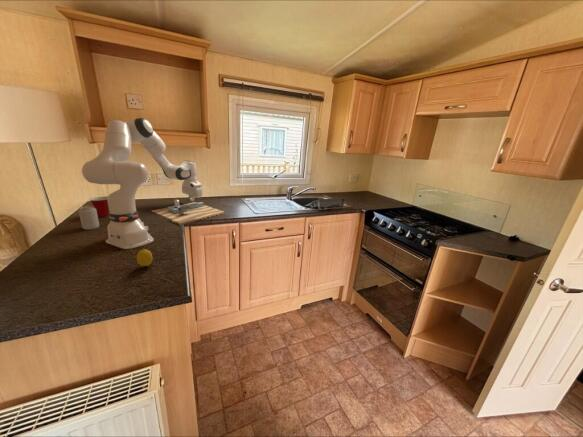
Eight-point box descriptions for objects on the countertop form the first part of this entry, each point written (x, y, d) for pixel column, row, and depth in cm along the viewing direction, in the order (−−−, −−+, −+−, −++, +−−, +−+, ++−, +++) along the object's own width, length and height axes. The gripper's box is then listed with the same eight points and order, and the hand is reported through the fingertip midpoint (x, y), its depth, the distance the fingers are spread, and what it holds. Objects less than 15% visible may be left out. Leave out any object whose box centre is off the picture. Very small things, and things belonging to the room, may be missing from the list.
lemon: (137, 271, 97) (134, 253, 94) (139, 264, 102) (136, 247, 99) (152, 268, 99) (150, 251, 96) (154, 262, 104) (152, 245, 101)
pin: (180, 211, 168) (179, 199, 165) (176, 211, 165) (175, 200, 163) (178, 210, 169) (177, 199, 167) (174, 211, 167) (173, 199, 164)
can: (79, 228, 132) (74, 207, 128) (93, 224, 139) (89, 204, 135) (88, 231, 130) (83, 209, 126) (102, 227, 136) (98, 206, 133)
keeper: (190, 213, 163) (190, 206, 162) (181, 215, 158) (181, 208, 157) (187, 212, 166) (186, 205, 164) (178, 214, 160) (177, 207, 159)
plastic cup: (104, 212, 159) (101, 194, 155) (118, 214, 157) (115, 196, 153) (88, 217, 149) (84, 198, 145) (102, 219, 147) (99, 200, 143)
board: (224, 213, 173) (224, 211, 173) (180, 225, 147) (179, 222, 146) (195, 204, 191) (195, 202, 191) (151, 212, 164) (151, 210, 164)
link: (175, 213, 161) (174, 209, 160) (167, 210, 166) (167, 207, 165) (206, 206, 180) (206, 203, 180) (199, 204, 185) (198, 201, 184)
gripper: (178, 181, 181) (180, 199, 185) (195, 185, 170) (196, 204, 175) (186, 180, 186) (187, 197, 190) (203, 184, 175) (204, 203, 180)
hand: (192, 201), depth 182 cm, fingers closed
